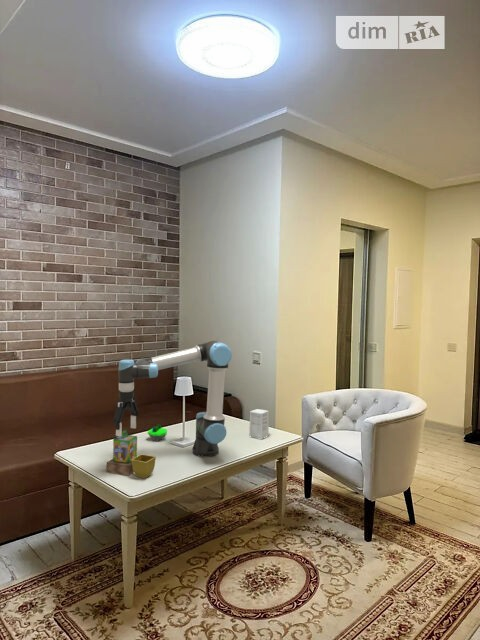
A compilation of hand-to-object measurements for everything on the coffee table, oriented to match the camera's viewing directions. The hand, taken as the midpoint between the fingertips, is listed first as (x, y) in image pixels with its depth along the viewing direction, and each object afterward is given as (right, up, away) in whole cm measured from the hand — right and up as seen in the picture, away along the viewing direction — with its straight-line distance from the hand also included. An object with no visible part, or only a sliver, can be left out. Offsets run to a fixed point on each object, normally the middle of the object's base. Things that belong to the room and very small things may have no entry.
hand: (126, 431), depth 225 cm
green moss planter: (+7, -17, +50) cm, 53 cm away
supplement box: (+70, -19, +61) cm, 95 cm away
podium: (-1, -19, +1) cm, 19 cm away
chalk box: (-1, -15, +1) cm, 15 cm away
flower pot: (+10, -20, -7) cm, 24 cm away
